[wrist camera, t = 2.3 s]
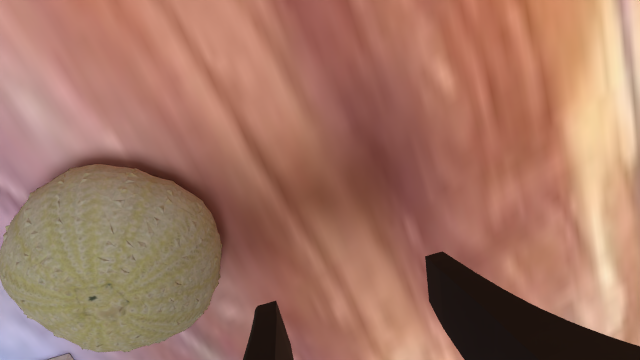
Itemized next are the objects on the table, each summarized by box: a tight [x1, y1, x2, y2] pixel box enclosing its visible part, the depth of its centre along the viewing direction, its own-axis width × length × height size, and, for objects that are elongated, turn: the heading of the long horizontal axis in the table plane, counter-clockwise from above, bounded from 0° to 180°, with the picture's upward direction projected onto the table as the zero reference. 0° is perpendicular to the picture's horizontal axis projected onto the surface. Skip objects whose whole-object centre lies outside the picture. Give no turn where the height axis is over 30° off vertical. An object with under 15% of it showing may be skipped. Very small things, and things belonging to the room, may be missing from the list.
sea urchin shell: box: [0, 164, 223, 352], centre depth 18 cm, size 9×8×8 cm
